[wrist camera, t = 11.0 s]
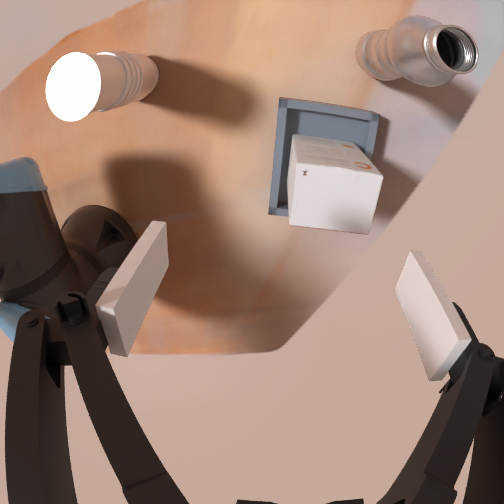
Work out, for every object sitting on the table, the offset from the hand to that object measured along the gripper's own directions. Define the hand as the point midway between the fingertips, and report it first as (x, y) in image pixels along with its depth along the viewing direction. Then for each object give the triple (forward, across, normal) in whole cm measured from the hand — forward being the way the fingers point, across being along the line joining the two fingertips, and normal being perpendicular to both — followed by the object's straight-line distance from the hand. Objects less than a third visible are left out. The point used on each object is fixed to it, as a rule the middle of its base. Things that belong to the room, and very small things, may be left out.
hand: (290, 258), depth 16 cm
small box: (+26, +5, -1) cm, 26 cm away
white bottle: (+27, -20, +8) cm, 34 cm away
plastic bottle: (+26, +10, +14) cm, 31 cm away
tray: (+26, +5, -1) cm, 26 cm away
